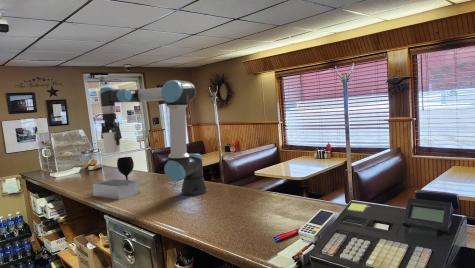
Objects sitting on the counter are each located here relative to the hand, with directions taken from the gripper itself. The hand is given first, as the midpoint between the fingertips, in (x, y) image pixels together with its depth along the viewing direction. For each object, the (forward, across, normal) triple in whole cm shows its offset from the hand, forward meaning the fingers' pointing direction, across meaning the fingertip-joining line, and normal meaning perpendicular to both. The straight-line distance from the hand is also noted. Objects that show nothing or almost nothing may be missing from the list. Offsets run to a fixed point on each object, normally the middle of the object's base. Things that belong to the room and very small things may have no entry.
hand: (112, 150), depth 197 cm
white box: (+1, 0, 0) cm, 1 cm away
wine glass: (+27, +10, -16) cm, 33 cm away
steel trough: (+27, 0, 0) cm, 27 cm away
